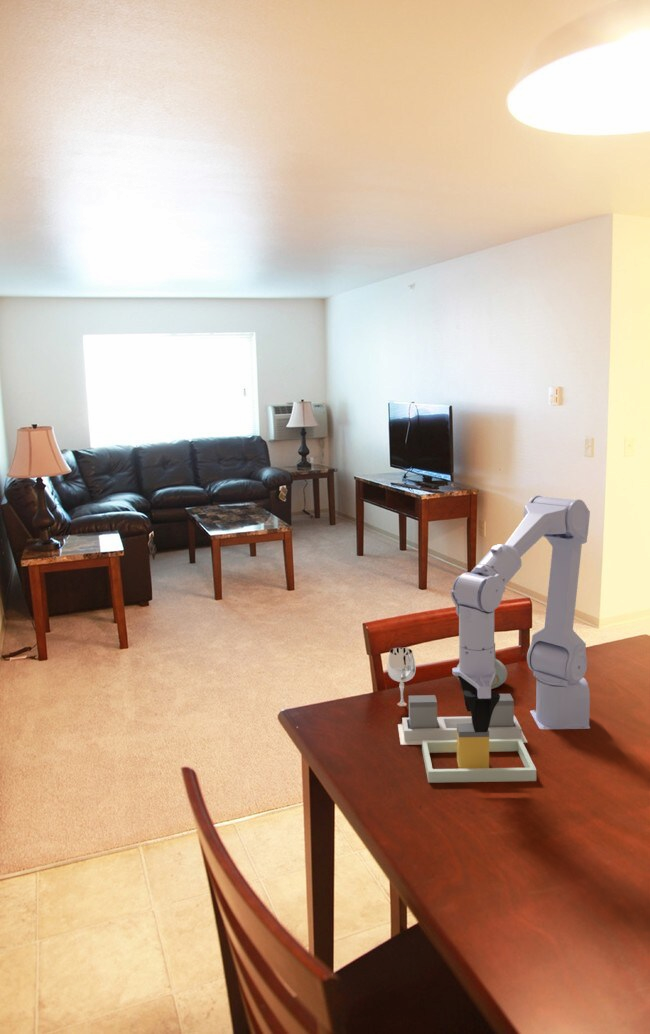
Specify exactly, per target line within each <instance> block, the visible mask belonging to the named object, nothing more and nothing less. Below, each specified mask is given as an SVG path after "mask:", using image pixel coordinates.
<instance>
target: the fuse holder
mask: <svg viewBox="0 0 650 1034" xmlns="http://www.w3.org/2000/svg"><path fill="white" fill-rule="evenodd" d="M401 719H402V721H401V723H399V724H397V729H398V735H399V742H400V744H399V745H401V746H403V745H404V746H405V745H406V746H407V745H408V746H409V745H413V746H414V745H415V746H416V745H422V740H457V724H465V723H472V717H471V715H470V716H466V715H465V716H437V728H427V729H409V717H402V718H401ZM488 730H489V739H522V741H523V744H528V743H529V742H528V740H527V739H526V736H525V734H524V732H523V731H522V726H521V724H520V723H519V721H518V718H517V717H516V716H515V715H514V726H513V727H489V728H488Z"/></svg>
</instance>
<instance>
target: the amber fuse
mask: <svg viewBox="0 0 650 1034" xmlns="http://www.w3.org/2000/svg"><path fill="white" fill-rule="evenodd" d="M456 763H457V766H458V769H470V768H490V752H489V730H488V731H487V732H475V731H474V728H473V724H472V723H465V724H457V752H456Z"/></svg>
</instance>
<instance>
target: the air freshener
mask: <svg viewBox="0 0 650 1034" xmlns="http://www.w3.org/2000/svg"><path fill="white" fill-rule="evenodd" d="M457 667H459V663H458V664H457V666H456V668H457ZM494 669H495V677H494V679H493V682H492V684H491V690H494V689H496V688H499V687H500V686H502V685H503V684H504V683H505V681H506V680H507V678H508V671H507V667H506V666H505V665H504V663H503V662H502V661H501V660H499V659H497V658H496V642H494ZM456 678H457V680H458V681H459V682H460V680H459V678H458V676H456Z"/></svg>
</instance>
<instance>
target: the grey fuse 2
mask: <svg viewBox="0 0 650 1034" xmlns="http://www.w3.org/2000/svg"><path fill="white" fill-rule="evenodd" d="M499 695H500V699H499V701H498V703H497V704H496V706H495V708H494V710H493V713H492V716H491V720H490V725H489V727H513V726H514V716H515V714H514V713H515V712H514V711H515V710H514V709H515V708H514V706H515V704H514V703H515V700H514V698H513V697H512V695H511V693H499Z"/></svg>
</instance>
